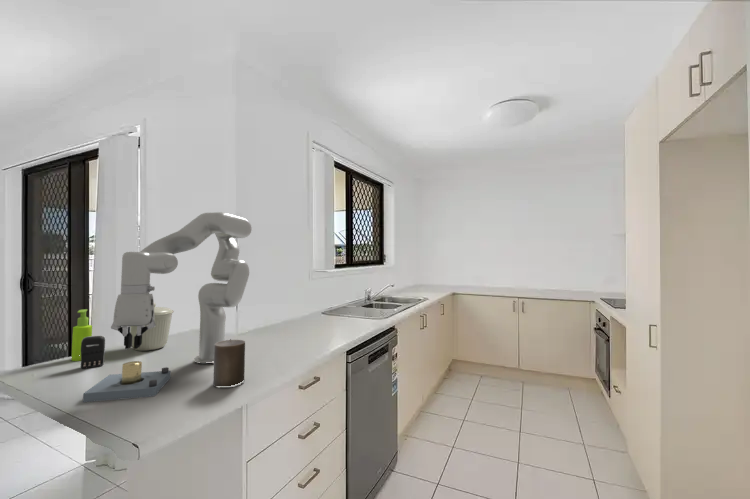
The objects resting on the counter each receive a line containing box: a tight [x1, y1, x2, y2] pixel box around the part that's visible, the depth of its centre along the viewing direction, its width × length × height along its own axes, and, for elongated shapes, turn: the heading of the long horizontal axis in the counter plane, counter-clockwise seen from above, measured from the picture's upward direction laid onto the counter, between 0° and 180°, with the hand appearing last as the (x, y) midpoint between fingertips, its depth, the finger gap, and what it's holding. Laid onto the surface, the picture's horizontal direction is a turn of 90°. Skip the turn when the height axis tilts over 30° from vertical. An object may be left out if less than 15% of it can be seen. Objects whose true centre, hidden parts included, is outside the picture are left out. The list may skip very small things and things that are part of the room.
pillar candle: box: [212, 338, 246, 386], centre depth 112 cm, size 10×10×15 cm
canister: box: [130, 302, 175, 352], centre depth 152 cm, size 18×18×21 cm
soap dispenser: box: [70, 308, 93, 362], centre depth 134 cm, size 6×7×20 cm
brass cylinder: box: [121, 360, 143, 385], centre depth 106 cm, size 5×5×8 cm
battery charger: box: [80, 335, 106, 369], centre depth 125 cm, size 7×4×11 cm, turn 126°
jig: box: [82, 366, 172, 403], centre depth 106 cm, size 18×16×4 cm
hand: (132, 347), depth 106 cm, fingers closed
